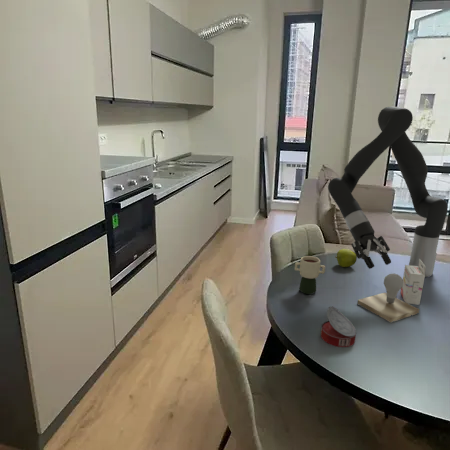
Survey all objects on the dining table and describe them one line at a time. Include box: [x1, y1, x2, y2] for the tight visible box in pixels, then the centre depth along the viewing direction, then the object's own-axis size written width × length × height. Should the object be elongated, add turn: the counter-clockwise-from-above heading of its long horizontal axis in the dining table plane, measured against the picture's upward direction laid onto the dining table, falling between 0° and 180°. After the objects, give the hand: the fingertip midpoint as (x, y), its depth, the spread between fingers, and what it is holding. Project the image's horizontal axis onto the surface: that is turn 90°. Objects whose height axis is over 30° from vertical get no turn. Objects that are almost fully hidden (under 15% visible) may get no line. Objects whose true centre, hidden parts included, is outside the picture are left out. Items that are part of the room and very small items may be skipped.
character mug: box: [294, 255, 326, 295], centre depth 140 cm, size 11×7×13 cm, turn 76°
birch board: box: [357, 292, 420, 323], centre depth 131 cm, size 14×14×2 cm
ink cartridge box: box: [400, 259, 426, 306], centre depth 137 cm, size 9×5×15 cm, turn 168°
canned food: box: [320, 306, 357, 348], centre depth 112 cm, size 11×10×10 cm
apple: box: [334, 248, 358, 268], centre depth 166 cm, size 8×9×8 cm
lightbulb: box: [383, 273, 403, 304], centre depth 130 cm, size 6×6×11 cm
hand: (380, 265), depth 132 cm, fingers open, 8 cm apart
